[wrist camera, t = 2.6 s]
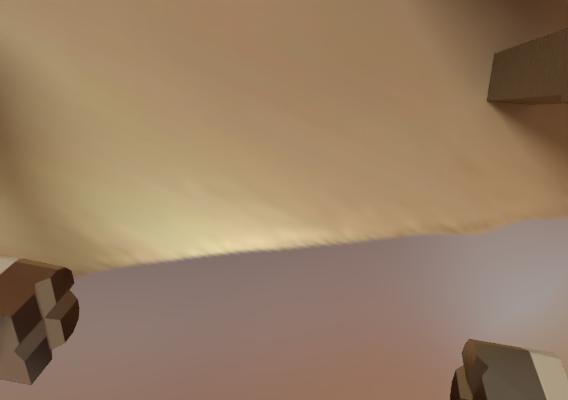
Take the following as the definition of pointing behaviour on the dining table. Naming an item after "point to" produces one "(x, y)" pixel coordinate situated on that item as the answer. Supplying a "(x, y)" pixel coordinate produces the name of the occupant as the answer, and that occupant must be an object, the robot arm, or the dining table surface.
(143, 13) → the dining table surface
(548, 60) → the gray arch block
